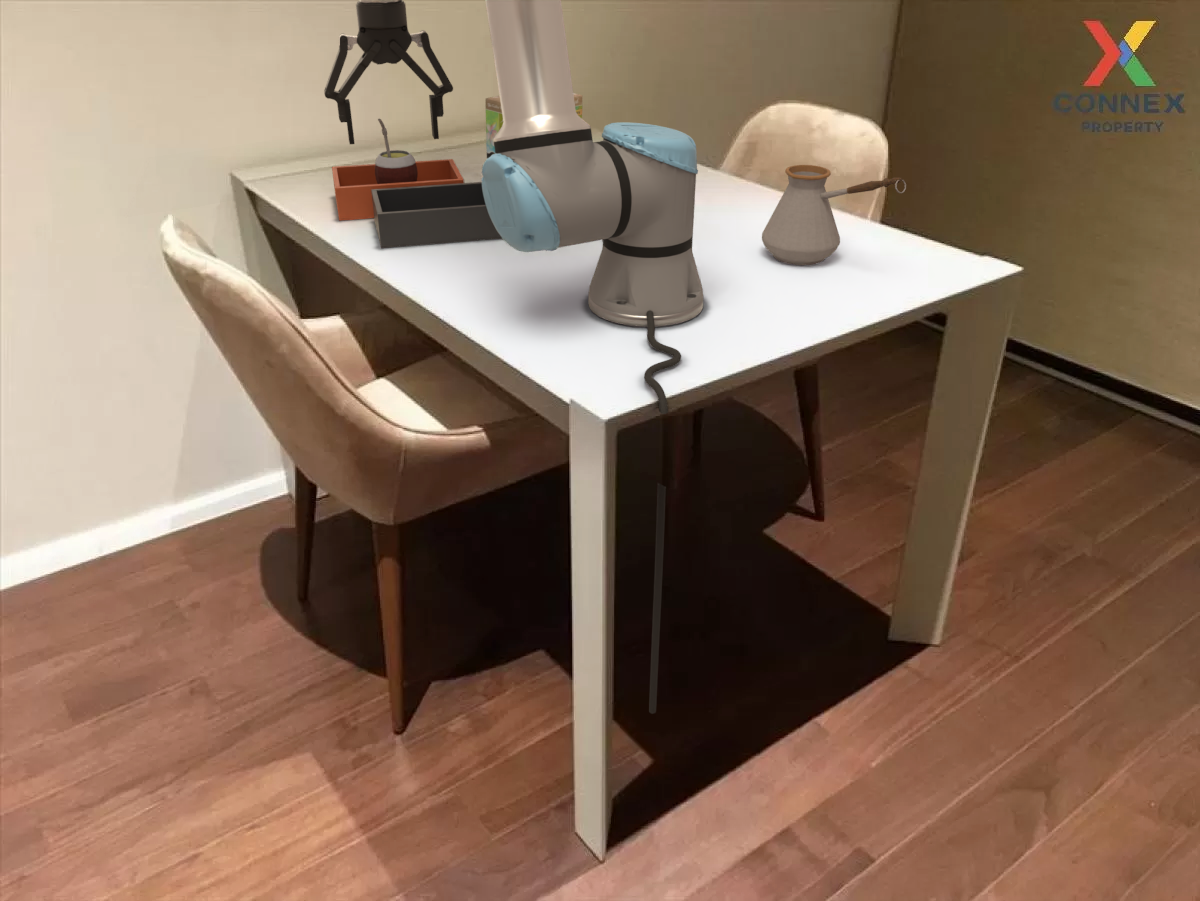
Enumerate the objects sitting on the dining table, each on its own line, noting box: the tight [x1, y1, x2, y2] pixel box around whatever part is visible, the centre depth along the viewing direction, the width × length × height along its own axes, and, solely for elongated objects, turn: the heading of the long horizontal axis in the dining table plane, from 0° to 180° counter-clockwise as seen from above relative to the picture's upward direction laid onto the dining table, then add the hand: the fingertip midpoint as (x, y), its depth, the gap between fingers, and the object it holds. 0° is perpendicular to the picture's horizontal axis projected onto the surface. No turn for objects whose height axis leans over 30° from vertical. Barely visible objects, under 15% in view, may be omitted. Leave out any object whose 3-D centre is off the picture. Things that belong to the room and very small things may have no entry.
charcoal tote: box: [371, 181, 503, 249], centre depth 164 cm, size 13×21×5 cm, turn 105°
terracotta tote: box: [331, 158, 465, 221], centre depth 175 cm, size 13×21×5 cm, turn 105°
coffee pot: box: [761, 164, 907, 266], centre depth 148 cm, size 21×12×15 cm, turn 43°
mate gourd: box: [374, 118, 418, 184], centre depth 172 cm, size 8×8×15 cm
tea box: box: [485, 92, 583, 159], centre depth 186 cm, size 15×10×15 cm
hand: (394, 140), depth 171 cm, fingers open, 13 cm apart
